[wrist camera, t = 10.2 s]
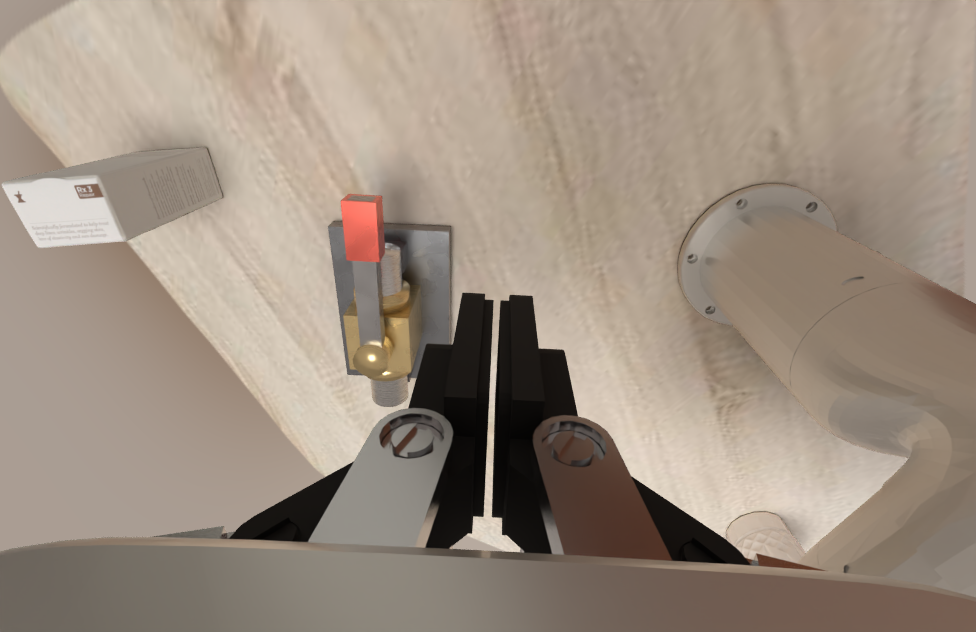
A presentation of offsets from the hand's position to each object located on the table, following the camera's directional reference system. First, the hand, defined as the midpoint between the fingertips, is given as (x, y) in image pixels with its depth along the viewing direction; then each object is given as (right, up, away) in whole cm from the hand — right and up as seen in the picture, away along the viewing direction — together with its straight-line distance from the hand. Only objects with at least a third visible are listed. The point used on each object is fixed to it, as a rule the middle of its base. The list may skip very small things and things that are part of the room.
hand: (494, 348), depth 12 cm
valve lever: (-9, +3, +23) cm, 25 cm away
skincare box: (-25, +13, +27) cm, 39 cm away
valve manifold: (-9, +2, +32) cm, 34 cm away
